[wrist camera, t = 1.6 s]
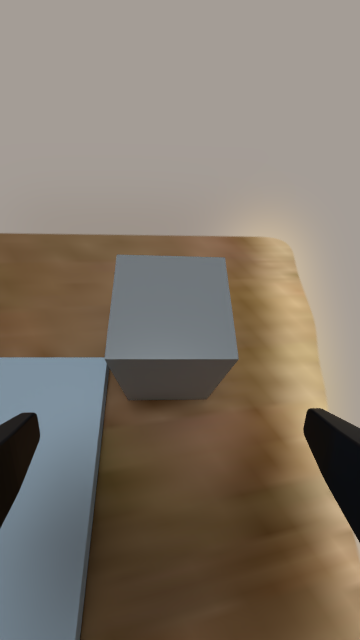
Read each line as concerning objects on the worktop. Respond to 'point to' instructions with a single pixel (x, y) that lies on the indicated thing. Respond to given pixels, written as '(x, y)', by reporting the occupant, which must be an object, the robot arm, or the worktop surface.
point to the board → (51, 495)
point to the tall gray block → (170, 327)
